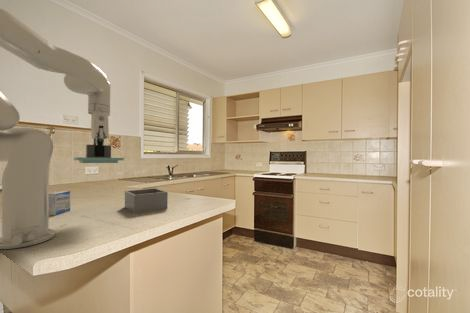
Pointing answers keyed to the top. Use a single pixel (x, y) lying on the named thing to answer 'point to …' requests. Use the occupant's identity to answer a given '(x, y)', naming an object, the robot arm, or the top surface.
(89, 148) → the lid
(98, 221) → the top surface
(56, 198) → the medicine box
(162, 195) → the bin
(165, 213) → the top surface
